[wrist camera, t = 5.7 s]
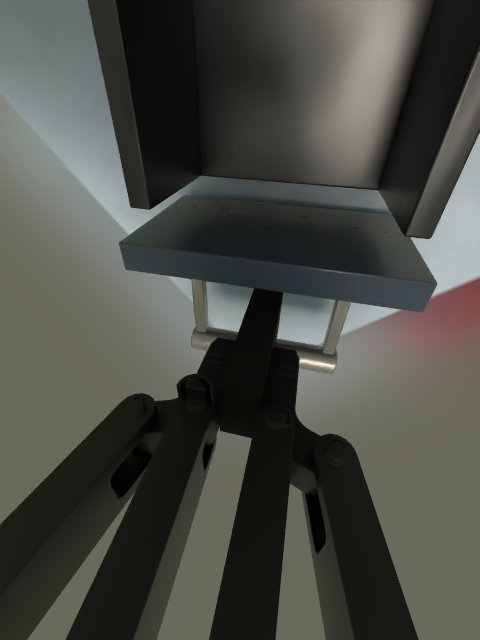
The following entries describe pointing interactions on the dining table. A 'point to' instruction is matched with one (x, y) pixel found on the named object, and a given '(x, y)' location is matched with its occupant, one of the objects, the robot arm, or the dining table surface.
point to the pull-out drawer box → (291, 141)
